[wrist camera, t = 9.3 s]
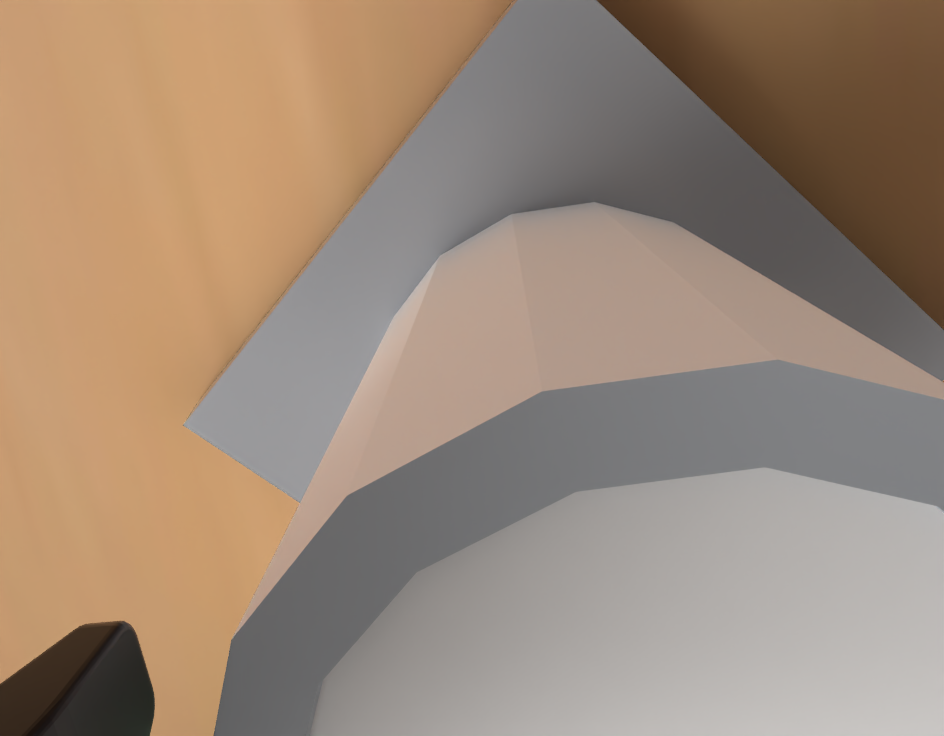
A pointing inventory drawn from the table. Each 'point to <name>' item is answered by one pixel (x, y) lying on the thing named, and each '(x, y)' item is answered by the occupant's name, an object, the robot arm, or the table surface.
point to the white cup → (609, 510)
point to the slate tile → (522, 190)
